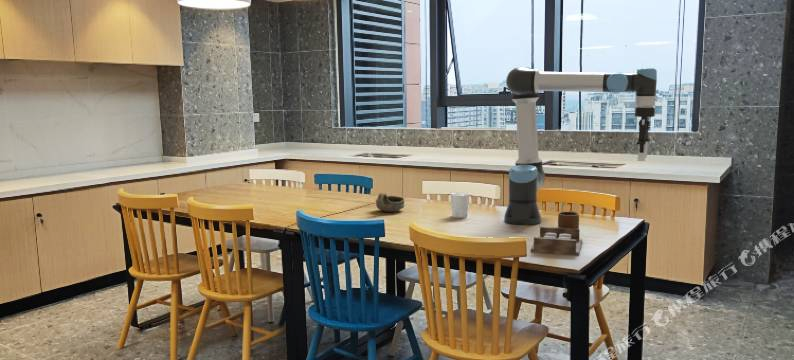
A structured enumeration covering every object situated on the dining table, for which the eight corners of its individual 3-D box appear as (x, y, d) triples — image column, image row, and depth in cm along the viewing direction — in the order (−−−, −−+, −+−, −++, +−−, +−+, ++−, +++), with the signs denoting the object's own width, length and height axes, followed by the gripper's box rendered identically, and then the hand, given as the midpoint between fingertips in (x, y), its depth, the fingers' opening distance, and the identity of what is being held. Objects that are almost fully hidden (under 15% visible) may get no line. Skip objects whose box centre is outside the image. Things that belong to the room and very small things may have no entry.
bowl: (410, 209, 297) (410, 188, 296) (392, 216, 282) (392, 194, 280) (384, 207, 303) (384, 187, 302) (366, 214, 288) (365, 192, 287)
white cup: (448, 217, 278) (448, 195, 277) (453, 214, 286) (453, 192, 284) (465, 218, 275) (465, 196, 274) (470, 215, 283) (470, 193, 281)
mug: (563, 232, 247) (563, 208, 246) (583, 234, 243) (583, 210, 242) (555, 239, 237) (555, 214, 235) (575, 241, 233) (576, 216, 232)
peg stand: (530, 251, 219) (531, 237, 218) (537, 239, 237) (537, 226, 236) (578, 255, 214) (579, 240, 213) (582, 242, 231) (582, 228, 231)
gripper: (653, 108, 243) (650, 162, 246) (656, 105, 265) (653, 156, 269) (632, 107, 246) (630, 162, 249) (637, 105, 268) (635, 155, 272)
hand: (642, 159), depth 259 cm, fingers open, 13 cm apart
